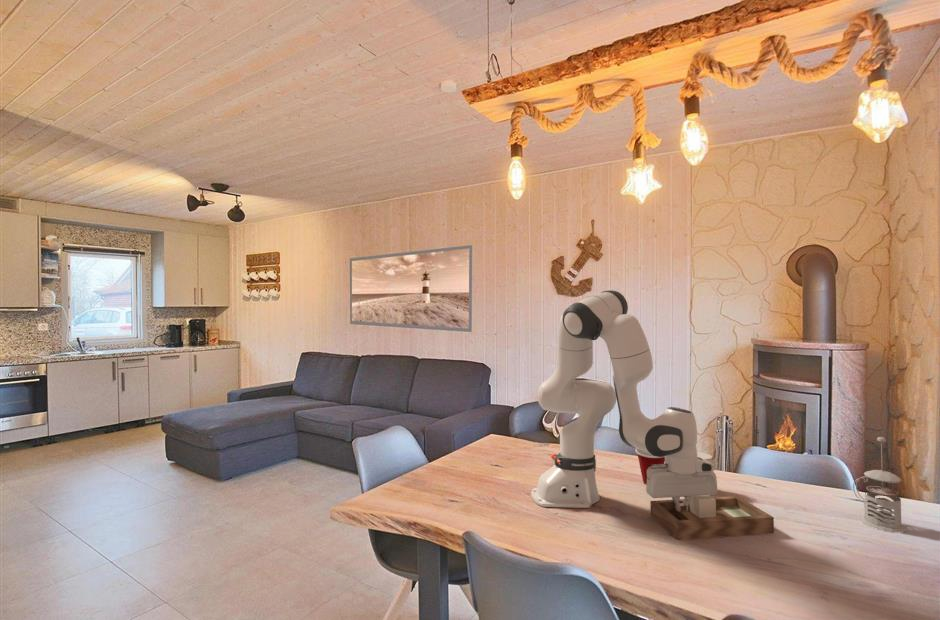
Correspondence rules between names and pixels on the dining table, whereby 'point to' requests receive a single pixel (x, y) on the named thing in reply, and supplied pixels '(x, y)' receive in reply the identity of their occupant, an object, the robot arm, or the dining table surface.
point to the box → (713, 519)
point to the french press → (882, 501)
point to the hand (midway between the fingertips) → (681, 510)
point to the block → (703, 506)
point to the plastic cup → (647, 462)
